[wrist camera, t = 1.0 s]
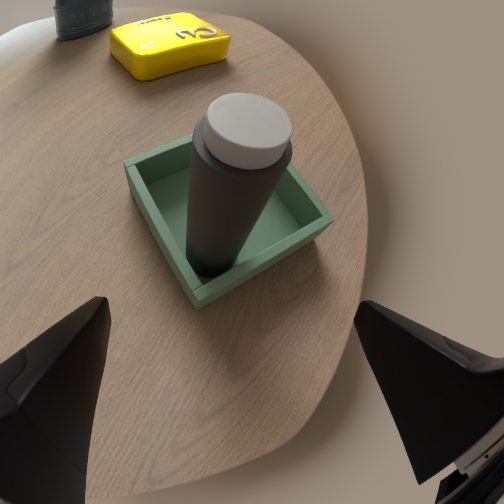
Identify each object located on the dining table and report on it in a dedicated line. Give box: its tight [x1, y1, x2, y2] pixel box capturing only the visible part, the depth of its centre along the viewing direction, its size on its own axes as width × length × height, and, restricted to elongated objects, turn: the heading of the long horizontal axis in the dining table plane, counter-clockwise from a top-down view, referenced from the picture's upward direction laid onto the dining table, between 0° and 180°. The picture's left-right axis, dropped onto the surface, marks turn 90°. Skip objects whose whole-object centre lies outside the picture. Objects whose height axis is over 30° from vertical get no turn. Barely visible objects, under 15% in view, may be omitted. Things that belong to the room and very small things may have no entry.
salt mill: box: [186, 93, 293, 278], centre depth 15 cm, size 4×4×14 cm
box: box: [123, 134, 334, 311], centre depth 22 cm, size 13×13×4 cm
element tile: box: [109, 13, 231, 81], centre depth 30 cm, size 15×15×5 cm
